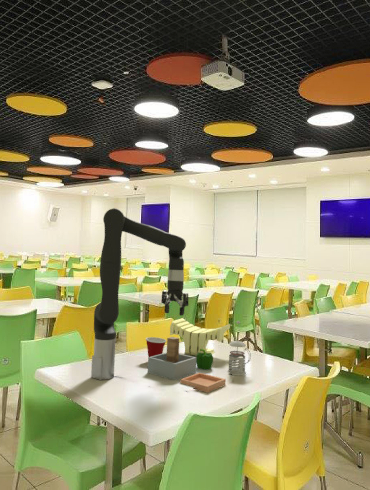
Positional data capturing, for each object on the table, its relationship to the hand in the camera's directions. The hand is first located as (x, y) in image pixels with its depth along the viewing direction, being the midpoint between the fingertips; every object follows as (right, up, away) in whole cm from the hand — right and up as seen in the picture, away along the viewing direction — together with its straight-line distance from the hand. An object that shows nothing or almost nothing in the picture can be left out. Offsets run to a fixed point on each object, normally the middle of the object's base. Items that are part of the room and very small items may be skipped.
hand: (174, 314), depth 190 cm
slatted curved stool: (+13, -30, +41) cm, 52 cm away
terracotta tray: (+13, -28, -14) cm, 34 cm away
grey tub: (-1, -28, -1) cm, 28 cm away
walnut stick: (-1, -27, -1) cm, 27 cm away
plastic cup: (-10, -28, +20) cm, 36 cm away
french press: (+31, -30, +6) cm, 43 cm away
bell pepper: (+15, -29, +10) cm, 34 cm away
